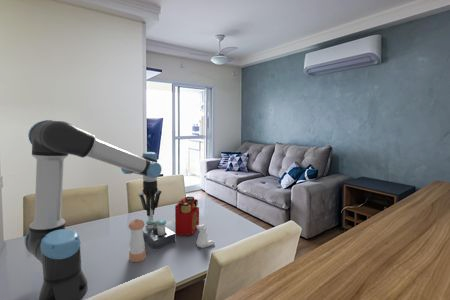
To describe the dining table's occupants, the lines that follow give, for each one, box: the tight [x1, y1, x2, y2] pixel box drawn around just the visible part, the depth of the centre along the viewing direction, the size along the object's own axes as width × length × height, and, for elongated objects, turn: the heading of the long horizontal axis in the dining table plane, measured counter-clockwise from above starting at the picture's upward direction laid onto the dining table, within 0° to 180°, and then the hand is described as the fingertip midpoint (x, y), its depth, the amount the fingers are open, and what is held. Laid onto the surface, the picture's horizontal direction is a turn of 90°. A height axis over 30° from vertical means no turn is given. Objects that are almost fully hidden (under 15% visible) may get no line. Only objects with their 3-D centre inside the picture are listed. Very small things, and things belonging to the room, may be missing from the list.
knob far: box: [145, 219, 156, 229], centre depth 138 cm, size 5×5×7 cm
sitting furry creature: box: [196, 223, 216, 249], centre depth 128 cm, size 10×9×12 cm
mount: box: [143, 224, 176, 251], centre depth 134 cm, size 12×20×5 cm, turn 44°
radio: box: [174, 195, 200, 237], centre depth 144 cm, size 16×10×20 cm, turn 168°
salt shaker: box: [128, 218, 146, 263], centre depth 114 cm, size 7×7×19 cm
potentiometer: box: [153, 220, 158, 231], centre depth 133 cm, size 3×3×5 cm
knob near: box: [156, 219, 167, 237], centre depth 129 cm, size 5×5×7 cm
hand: (150, 220), depth 137 cm, fingers closed
